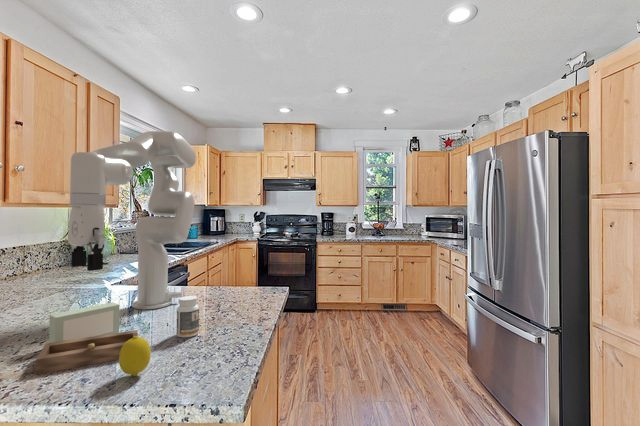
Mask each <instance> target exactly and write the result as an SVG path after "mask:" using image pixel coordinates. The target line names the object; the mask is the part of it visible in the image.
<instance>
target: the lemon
mask: <svg viewBox="0 0 640 426" xmlns="http://www.w3.org/2000/svg"><path fill="white" fill-rule="evenodd" d="M151 354H152V350H151V346H150V344H149V341H147V340H146V339H145V338H143V337H141V336H139V335H138V336H134V337H133V338H131V339H129V340H128V341H127V342H126V343H125V344H124V345H123V346H122V348H121V351H120V355H119V359H118V363H119V364H118V365H119V367H120V369H121V370H122V372H123V373H124V374H127V375H130V376H132V377H137V376H138V375H139V374H140V373H142V372H143V371H144V370H145V369H146V368H148V365H149V364H150V361H151V357H152V355H151Z"/></svg>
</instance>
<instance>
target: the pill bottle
mask: <svg viewBox="0 0 640 426" xmlns="http://www.w3.org/2000/svg"><path fill="white" fill-rule="evenodd" d="M197 302H198V297H197V296H196V295H186V296H181V297H180V298H178V304H179V306H177V308H176V331H175V332H176V336H177V337H178V338H191V337H195V336H196V335H198V334H199V333H200V308H199V307H200V306H199V305H198V304H197Z"/></svg>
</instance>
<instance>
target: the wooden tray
mask: <svg viewBox="0 0 640 426" xmlns="http://www.w3.org/2000/svg"><path fill="white" fill-rule="evenodd" d="M134 336H138V337H139V335H138V329H133V330H129V331H128V330H127V331H122V332H120V331H119V333H113V334H106V335H100V336H93V337H86V338H80V339H73V340H66V341H59V342H53V343H49V342H45V344H44V346H43V347H42V349H41V350H40V353H39V354H38V356H37V358H36V359H35V376H36V375H37V376H38V375H41V374H48V373H53V372H58V371H59V372H60V371H65V370H69V369H74V368H79V367H80V368H81V367H85V366H91V365H97V364H101V363H107V362H113V361H117V360H118V361H119V355H120V351H121V348H122V346H123V345H124V344H125V343H126V342H127V341H128V340H129V339H131V338H133V337H134Z"/></svg>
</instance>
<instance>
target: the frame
mask: <svg viewBox="0 0 640 426" xmlns="http://www.w3.org/2000/svg"><path fill="white" fill-rule="evenodd" d="M120 305H121V304H118V303H116V302H113V301H112V302H108V303H106V302H105V303H102V304H97V305H92V306H87V307H81V308H77V309H76V308H75V309H70V310H67V311H61V312H56V313H50V314H49V326H48V327H49V332H48V343H53V342H59V341H66V340H73V339H80V338H86V337H93V336H100V335H106V334H113V333H120Z"/></svg>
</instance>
